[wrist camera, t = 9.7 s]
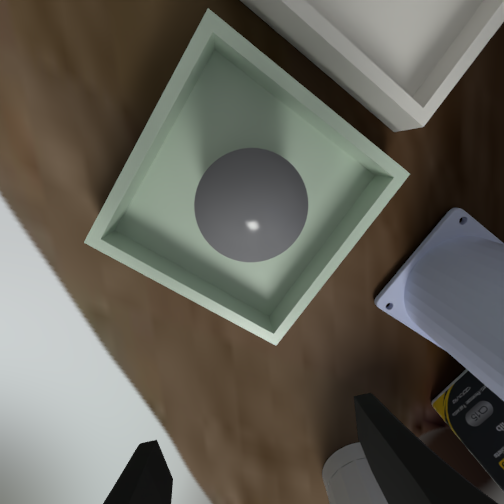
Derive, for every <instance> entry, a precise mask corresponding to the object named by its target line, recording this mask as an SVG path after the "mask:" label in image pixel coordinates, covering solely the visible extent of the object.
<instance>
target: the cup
mask: <svg viewBox="0 0 504 504" xmlns="http://www.w3.org/2000/svg"><path fill="white" fill-rule="evenodd" d="M322 477H323V481H324V484H325V487H326V491H327V494H328V498H329V502H330V504H388V502H387V501H386V499H385V497H384V495H383V493H382V491H381V489H380V487H379V485H378V483H377V481H376V479H375V477H374V475H373V473H372V471H371V468H370V466H369V464H368V461H367V459H366V456H365V454H364V451H363V449H362V446H361V444H360V442H358V443H353V444H350V445H347V446H345V447H343V448H341V449H339V450H337V451H336V452H335V453H333V454H332V455H331V456H330V457H329V459H328V460H327V461H326V463H325V465H324V467H323V471H322Z"/></svg>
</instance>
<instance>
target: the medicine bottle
mask: <svg viewBox="0 0 504 504" xmlns="http://www.w3.org/2000/svg"><path fill="white" fill-rule="evenodd" d="M432 406H433V407H434V409H435V410H436V411H437V412H438V413H439V415H440V416H441V417H442V418H443V419H444V421H445V422H446V423H447V424H448V425H449V427H450V428H451V429H452V430H453V432H454V433H455V434H456V435H457V436H458V438H459V439H460V440H461V441H462V442H463V444H464V445H465V446H466V447H467V448H468V450H469V451H470V452H471V453H472V454H473V456H474V457H475V458H476V459H477V460H478V461H479V463H480V464H481V465H482V466H483V468H484V469H485V470H486V471H487V472H488V474H489V475H490V476H491V477H492V478H493V480H494V481H495V482H496V483H497V485H498V486H499V487H500V488H501V489H502V491H503V492H504V401H503V400H502V399H500V398H499V397H498V396H497V395H496V394H495V393H494V392H492V391H491V390H490V389H489V388H488V387H487V386H486V385H484V384H483V383H482V382H481V381H480V380H479V379H478V378H476V377H475V376H474V375H473V374H472V373H471V372H470V371H468V370H467V369H466V370H464V371H463V372H462V373H461V374H460V375H459V376H458V377H457V378H456V379H455V380H454V381H453V382H452V383H451V384H449V385H448V386H447V387H446V388H445V389H444V390H443V391H442V392H441V393H440V394H439V395H438V396H437V397H435V398H434V399H433V400H432Z"/></svg>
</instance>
